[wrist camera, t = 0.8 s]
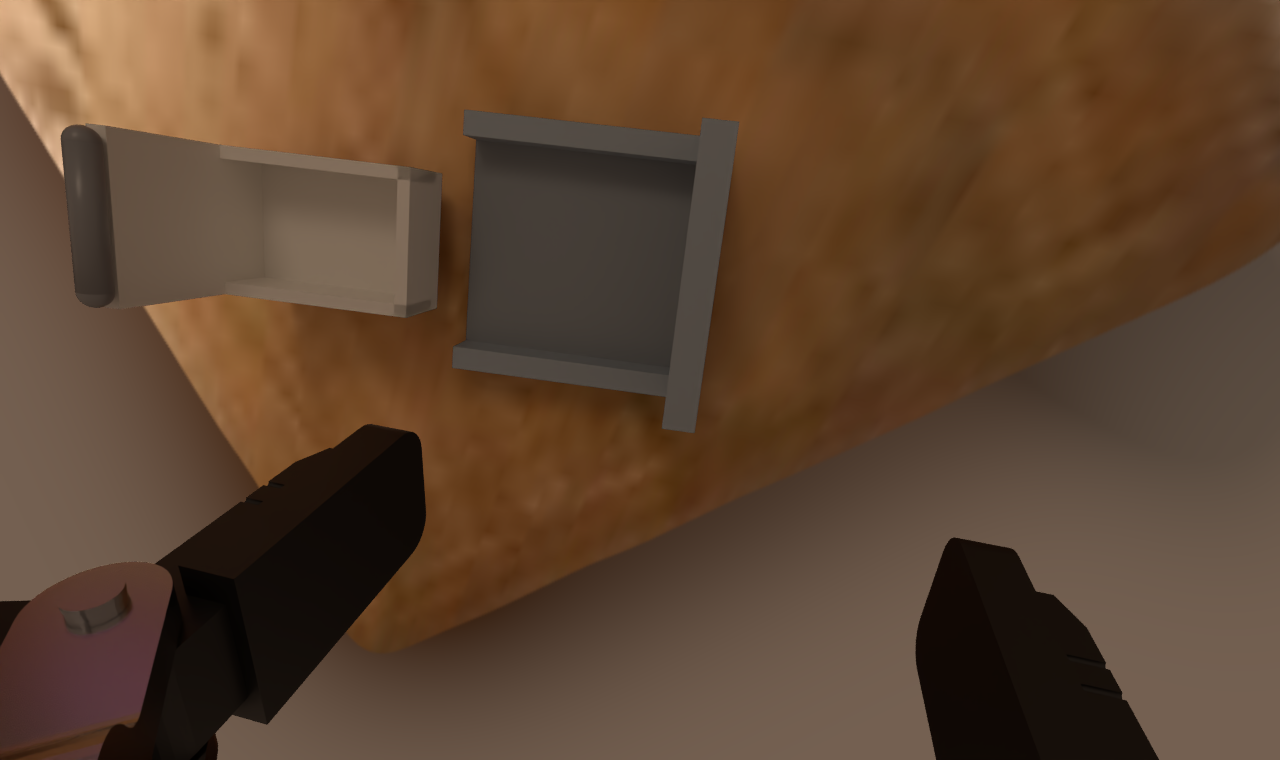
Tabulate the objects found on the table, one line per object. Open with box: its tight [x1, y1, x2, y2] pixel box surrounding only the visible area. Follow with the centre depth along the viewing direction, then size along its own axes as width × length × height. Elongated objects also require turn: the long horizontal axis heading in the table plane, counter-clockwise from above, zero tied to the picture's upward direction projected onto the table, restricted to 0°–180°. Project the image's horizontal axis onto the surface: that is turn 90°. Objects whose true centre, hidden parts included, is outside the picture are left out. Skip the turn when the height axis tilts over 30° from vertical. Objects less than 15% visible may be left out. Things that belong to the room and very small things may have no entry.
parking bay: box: [452, 110, 739, 433], centre depth 32 cm, size 13×14×8 cm
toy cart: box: [61, 123, 442, 318], centre depth 30 cm, size 7×10×13 cm
